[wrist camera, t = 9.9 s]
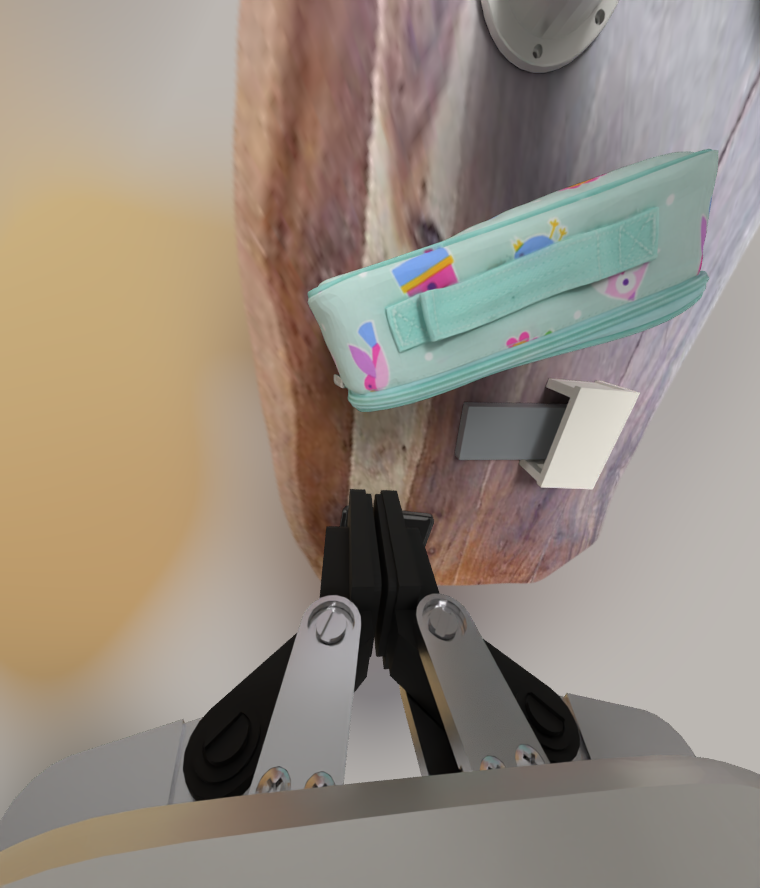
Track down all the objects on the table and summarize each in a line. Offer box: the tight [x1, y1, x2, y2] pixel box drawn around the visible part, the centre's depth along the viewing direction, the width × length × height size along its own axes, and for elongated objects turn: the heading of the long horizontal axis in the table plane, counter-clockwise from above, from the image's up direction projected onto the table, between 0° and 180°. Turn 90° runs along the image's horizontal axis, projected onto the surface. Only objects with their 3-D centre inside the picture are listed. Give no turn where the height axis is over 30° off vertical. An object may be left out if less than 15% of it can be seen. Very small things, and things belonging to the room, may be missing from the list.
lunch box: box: [308, 149, 718, 412], centre depth 25 cm, size 27×10×21 cm, turn 109°
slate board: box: [455, 402, 568, 460], centre depth 42 cm, size 8×16×2 cm, turn 87°
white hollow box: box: [519, 378, 640, 489], centre depth 41 cm, size 14×8×6 cm, turn 174°
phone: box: [340, 505, 434, 546], centre depth 49 cm, size 8×1×15 cm
